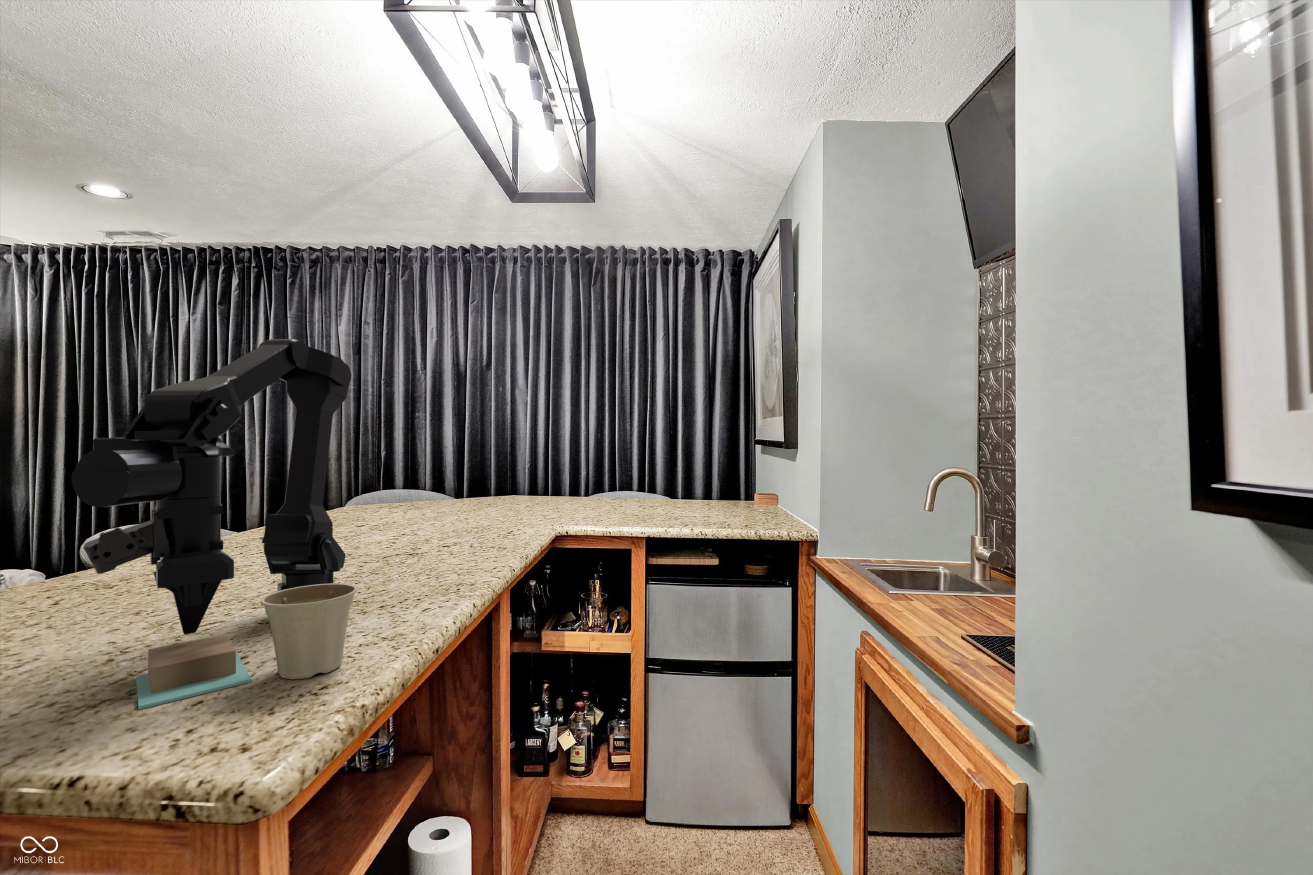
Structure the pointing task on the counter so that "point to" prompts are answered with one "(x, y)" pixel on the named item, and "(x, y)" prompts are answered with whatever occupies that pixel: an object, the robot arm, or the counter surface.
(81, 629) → the counter surface
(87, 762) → the counter surface
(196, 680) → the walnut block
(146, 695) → the teal mat
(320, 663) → the flower pot
